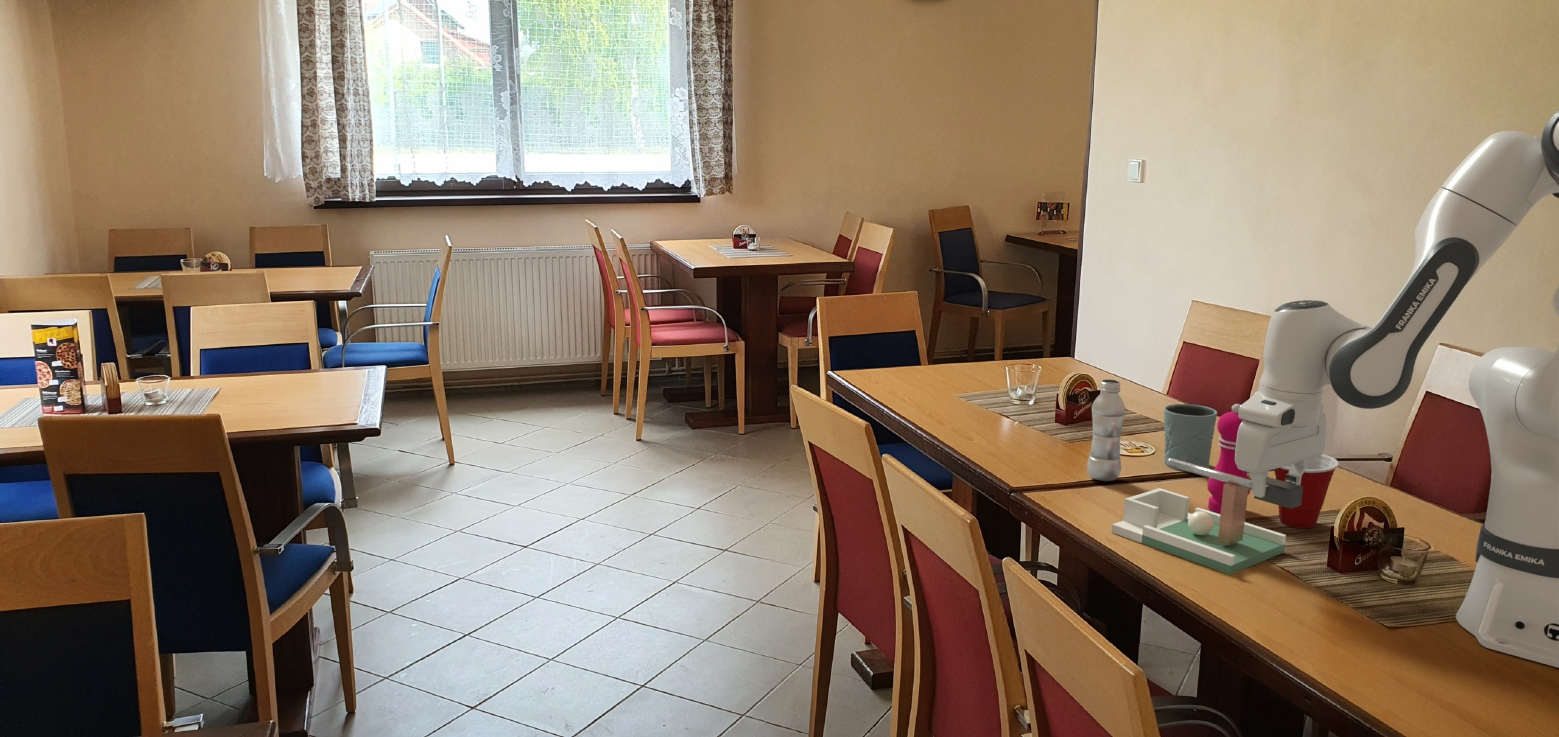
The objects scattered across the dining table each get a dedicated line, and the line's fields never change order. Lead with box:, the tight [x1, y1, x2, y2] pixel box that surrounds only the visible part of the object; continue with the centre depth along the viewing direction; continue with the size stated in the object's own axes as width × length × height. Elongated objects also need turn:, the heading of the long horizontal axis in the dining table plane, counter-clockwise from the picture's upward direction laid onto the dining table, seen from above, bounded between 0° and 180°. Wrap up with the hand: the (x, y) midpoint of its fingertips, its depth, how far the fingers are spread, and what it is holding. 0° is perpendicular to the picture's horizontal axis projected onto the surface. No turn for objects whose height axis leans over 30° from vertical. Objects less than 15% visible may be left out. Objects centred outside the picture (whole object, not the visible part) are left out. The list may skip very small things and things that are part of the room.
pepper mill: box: [1206, 403, 1251, 515], centre depth 193 cm, size 7×7×20 cm
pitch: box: [1111, 487, 1287, 576], centre depth 179 cm, size 22×16×6 cm
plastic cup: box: [1273, 453, 1339, 529], centre depth 188 cm, size 11×11×12 cm
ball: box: [1188, 511, 1213, 535], centre depth 179 cm, size 4×4×4 cm
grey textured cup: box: [1163, 403, 1218, 473], centre depth 220 cm, size 10×10×12 cm
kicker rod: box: [1167, 458, 1303, 545], centre depth 174 cm, size 23×4×12 cm, turn 37°
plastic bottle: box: [1086, 379, 1126, 482], centre depth 210 cm, size 6×7×20 cm
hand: (1276, 490), depth 167 cm, fingers open, 8 cm apart
